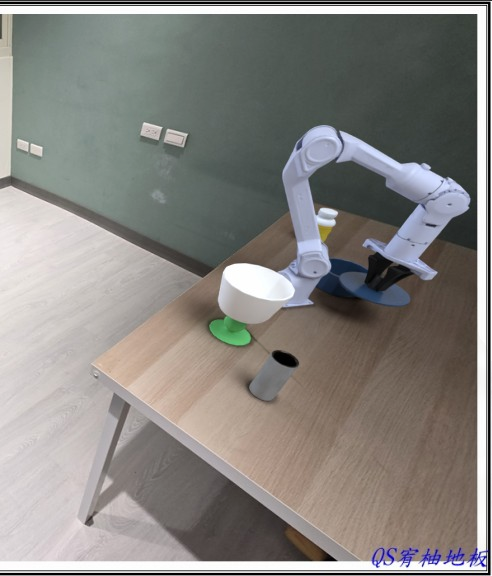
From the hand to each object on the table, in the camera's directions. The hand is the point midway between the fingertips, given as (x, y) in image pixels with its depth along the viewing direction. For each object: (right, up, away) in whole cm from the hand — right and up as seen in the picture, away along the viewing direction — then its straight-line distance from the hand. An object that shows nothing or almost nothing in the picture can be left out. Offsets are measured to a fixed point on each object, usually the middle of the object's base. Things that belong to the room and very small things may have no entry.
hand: (374, 286), depth 91 cm
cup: (-35, -11, +1) cm, 37 cm away
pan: (+6, +1, +16) cm, 17 cm away
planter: (-37, -22, -13) cm, 45 cm away
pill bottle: (+14, +15, +35) cm, 40 cm away
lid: (0, -1, +1) cm, 1 cm away
